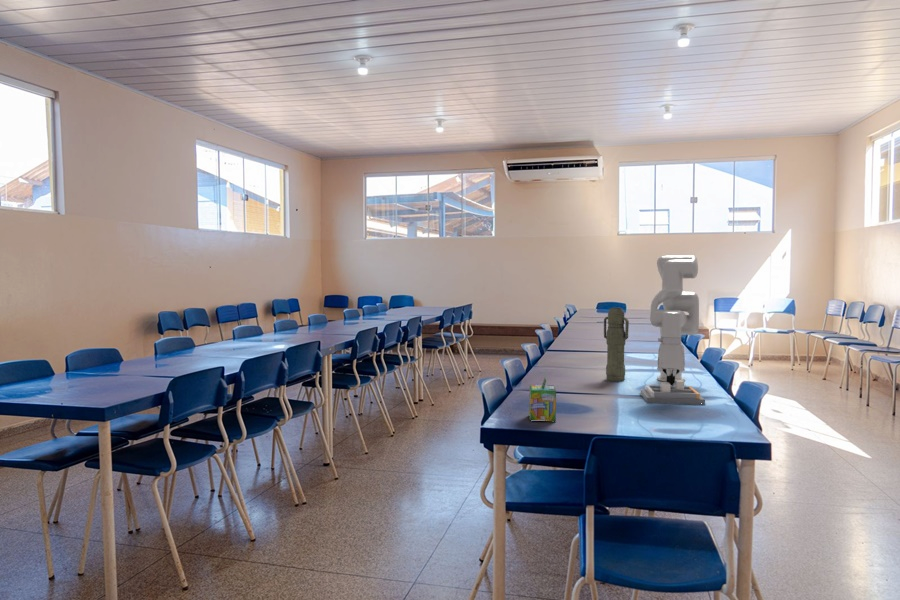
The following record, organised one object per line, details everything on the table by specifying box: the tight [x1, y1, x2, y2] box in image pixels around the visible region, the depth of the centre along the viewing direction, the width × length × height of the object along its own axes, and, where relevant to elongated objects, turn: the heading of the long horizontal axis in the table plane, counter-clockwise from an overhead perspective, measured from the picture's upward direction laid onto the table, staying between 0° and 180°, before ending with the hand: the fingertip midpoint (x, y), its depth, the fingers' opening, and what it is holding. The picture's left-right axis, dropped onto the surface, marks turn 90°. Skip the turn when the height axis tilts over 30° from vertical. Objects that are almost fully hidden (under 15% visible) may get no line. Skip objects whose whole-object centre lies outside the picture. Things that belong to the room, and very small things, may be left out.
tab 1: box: [660, 381, 672, 392], centre depth 228 cm, size 3×4×5 cm
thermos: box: [603, 306, 630, 382], centre depth 270 cm, size 9×12×35 cm
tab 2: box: [673, 380, 685, 389], centre depth 233 cm, size 3×4×5 cm
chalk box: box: [528, 377, 557, 422], centre depth 201 cm, size 9×9×15 cm
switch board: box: [640, 384, 706, 405], centre depth 230 cm, size 22×16×4 cm
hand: (670, 384), depth 233 cm, fingers closed
